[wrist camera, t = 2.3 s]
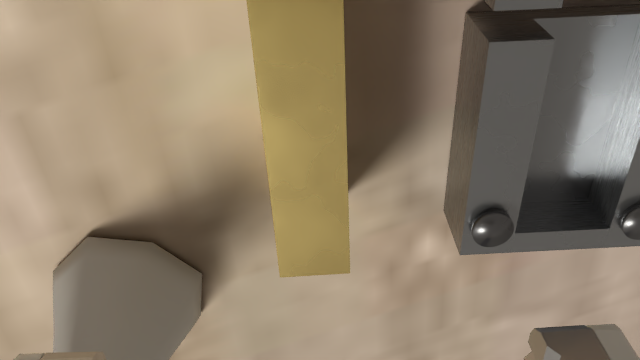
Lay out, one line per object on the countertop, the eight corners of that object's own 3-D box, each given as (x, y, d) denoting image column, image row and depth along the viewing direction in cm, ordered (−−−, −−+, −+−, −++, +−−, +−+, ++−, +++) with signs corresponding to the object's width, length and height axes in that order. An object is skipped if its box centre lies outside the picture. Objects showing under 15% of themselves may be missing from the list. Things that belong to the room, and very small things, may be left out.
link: (465, 12, 20) (493, 46, 18) (685, 2, 20) (747, 34, 18) (443, 210, 25) (462, 261, 23) (619, 201, 26) (659, 251, 23)
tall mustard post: (250, -102, 18) (237, -72, 14) (331, -107, 18) (341, -78, 14) (282, 198, 25) (280, 277, 21) (340, 194, 25) (349, 273, 21)
